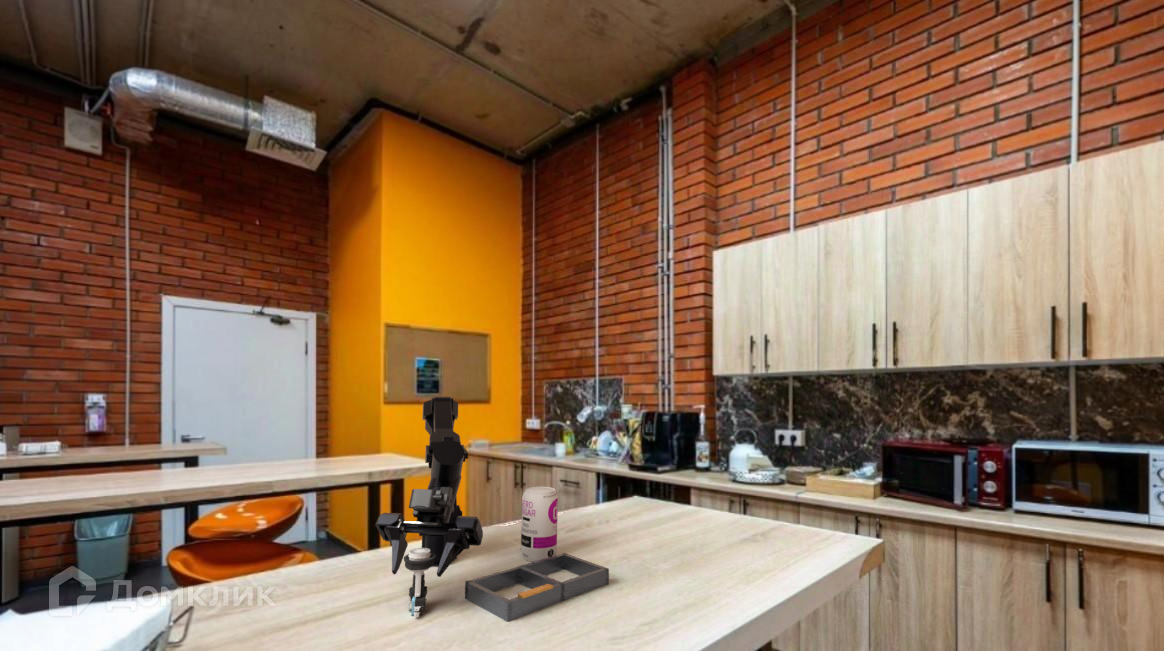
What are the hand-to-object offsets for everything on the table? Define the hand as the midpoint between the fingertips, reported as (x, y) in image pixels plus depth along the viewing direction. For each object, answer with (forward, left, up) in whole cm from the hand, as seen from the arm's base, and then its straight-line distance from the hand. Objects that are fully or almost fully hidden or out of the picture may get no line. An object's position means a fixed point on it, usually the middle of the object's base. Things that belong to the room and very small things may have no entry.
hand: (415, 574), depth 94 cm
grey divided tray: (+17, +17, -7) cm, 25 cm away
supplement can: (+10, +35, -7) cm, 37 cm away
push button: (0, +1, -7) cm, 7 cm away
